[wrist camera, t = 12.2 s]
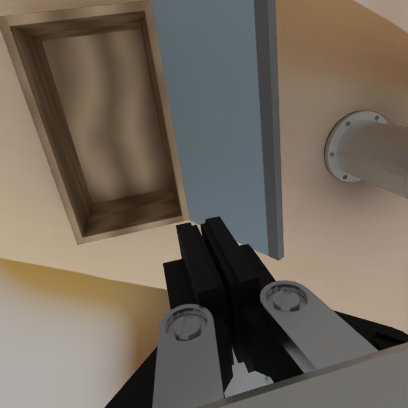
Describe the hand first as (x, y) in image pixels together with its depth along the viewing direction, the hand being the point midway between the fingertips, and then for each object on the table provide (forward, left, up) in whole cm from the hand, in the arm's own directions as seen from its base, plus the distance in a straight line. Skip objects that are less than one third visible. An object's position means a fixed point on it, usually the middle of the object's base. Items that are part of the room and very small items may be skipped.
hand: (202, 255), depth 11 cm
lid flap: (-6, -1, -19) cm, 19 cm away
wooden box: (+5, -1, -37) cm, 37 cm away
